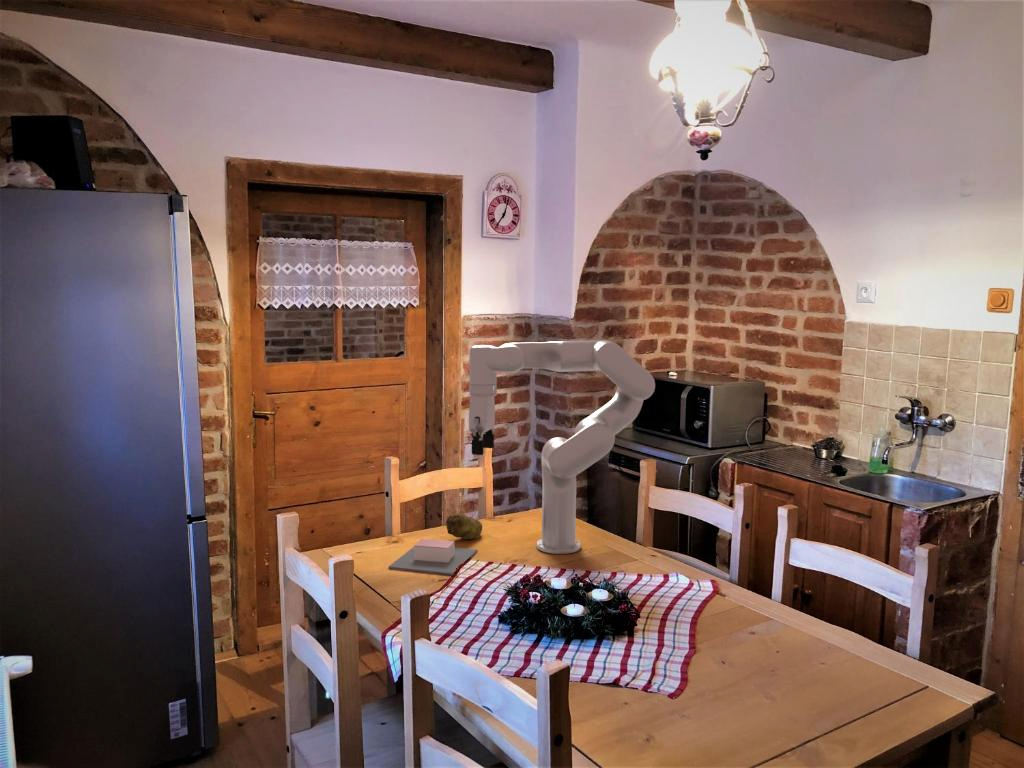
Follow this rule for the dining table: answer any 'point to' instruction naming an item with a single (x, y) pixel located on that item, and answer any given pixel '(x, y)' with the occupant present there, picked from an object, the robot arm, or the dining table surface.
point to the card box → (434, 550)
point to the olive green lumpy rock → (463, 526)
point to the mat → (432, 562)
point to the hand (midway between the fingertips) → (483, 451)
